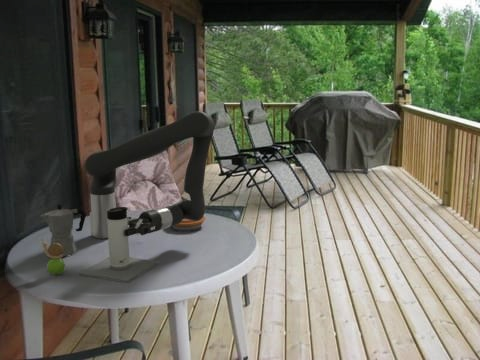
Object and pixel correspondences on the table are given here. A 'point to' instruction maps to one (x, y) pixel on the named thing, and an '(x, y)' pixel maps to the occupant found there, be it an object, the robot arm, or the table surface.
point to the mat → (123, 275)
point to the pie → (188, 225)
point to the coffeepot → (64, 227)
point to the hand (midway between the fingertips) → (116, 230)
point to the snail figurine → (54, 257)
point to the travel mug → (118, 238)
